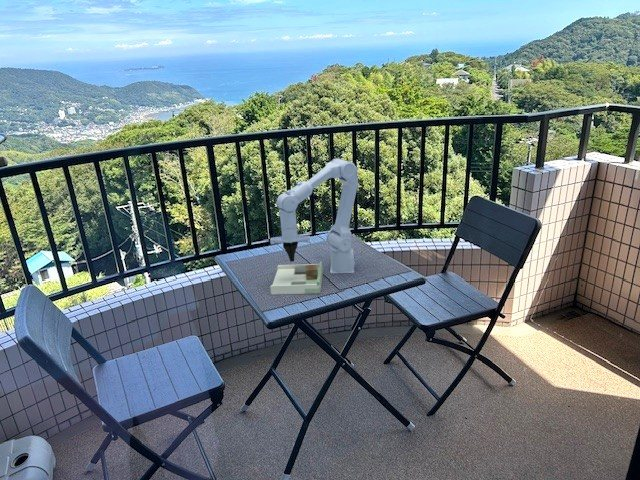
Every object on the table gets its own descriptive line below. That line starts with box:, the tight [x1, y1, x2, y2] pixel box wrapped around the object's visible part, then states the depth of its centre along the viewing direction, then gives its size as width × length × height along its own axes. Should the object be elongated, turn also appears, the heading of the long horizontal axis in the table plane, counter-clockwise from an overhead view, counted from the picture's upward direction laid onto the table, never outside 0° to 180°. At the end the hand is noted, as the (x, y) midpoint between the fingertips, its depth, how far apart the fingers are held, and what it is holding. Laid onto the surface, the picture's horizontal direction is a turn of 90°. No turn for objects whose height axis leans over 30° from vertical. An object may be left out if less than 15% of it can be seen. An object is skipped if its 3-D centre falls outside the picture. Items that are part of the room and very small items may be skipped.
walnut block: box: [305, 265, 318, 280], centre depth 167 cm, size 4×4×4 cm
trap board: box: [269, 261, 324, 296], centre depth 168 cm, size 18×18×4 cm
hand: (292, 260), depth 165 cm, fingers closed
